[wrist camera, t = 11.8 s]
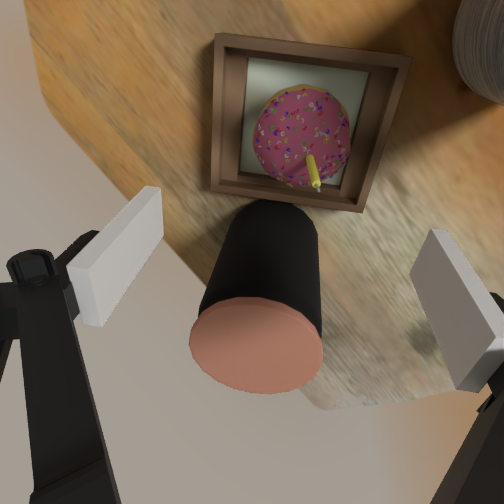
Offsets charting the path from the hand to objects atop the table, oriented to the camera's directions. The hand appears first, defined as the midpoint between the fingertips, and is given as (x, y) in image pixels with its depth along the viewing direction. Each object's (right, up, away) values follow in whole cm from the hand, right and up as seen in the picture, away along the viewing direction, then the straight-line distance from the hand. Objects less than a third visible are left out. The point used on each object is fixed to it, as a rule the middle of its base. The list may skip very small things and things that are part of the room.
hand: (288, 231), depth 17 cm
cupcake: (+3, +11, +17) cm, 20 cm away
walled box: (+3, +12, +17) cm, 21 cm away
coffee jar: (+1, +1, +25) cm, 25 cm away
